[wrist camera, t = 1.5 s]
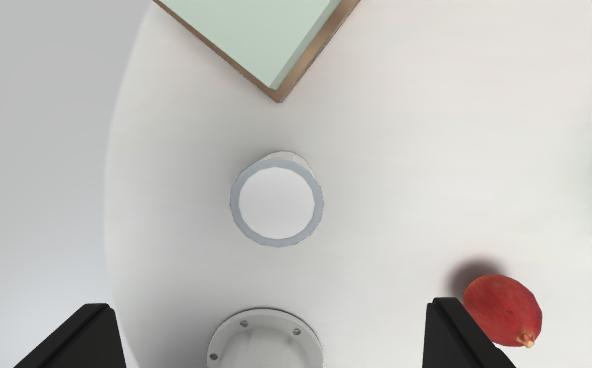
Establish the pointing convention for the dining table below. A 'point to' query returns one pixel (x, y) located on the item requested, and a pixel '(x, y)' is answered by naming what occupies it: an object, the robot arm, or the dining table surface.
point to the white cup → (277, 200)
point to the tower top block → (258, 30)
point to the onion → (504, 310)
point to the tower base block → (305, 61)
